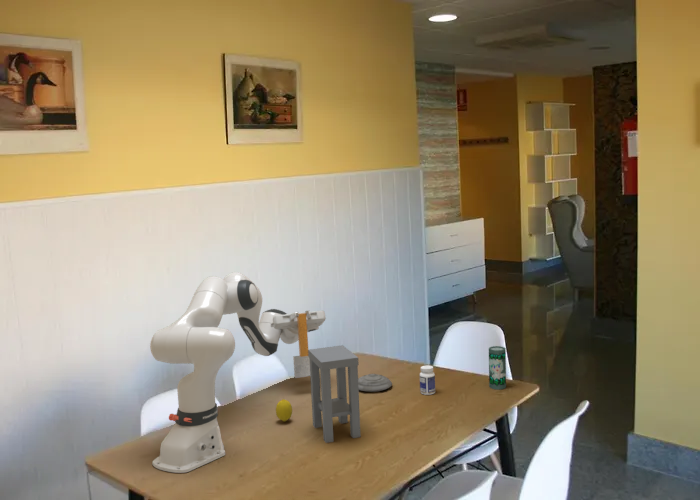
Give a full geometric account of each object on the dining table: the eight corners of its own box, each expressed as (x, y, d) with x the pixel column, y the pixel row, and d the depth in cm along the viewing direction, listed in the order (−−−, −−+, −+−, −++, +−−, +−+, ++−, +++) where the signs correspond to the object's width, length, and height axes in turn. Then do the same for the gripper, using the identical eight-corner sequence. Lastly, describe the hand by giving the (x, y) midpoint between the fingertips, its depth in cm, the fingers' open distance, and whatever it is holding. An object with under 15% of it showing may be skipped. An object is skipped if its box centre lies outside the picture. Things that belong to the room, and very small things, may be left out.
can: (488, 388, 251) (488, 350, 249) (490, 383, 257) (489, 345, 255) (505, 389, 249) (504, 350, 247) (506, 384, 255) (505, 346, 253)
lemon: (290, 425, 224) (288, 402, 223) (274, 424, 225) (273, 401, 224) (294, 418, 229) (293, 396, 228) (279, 418, 230) (278, 396, 229)
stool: (361, 437, 211) (358, 357, 208) (325, 443, 208) (321, 362, 204) (346, 419, 226) (342, 345, 223) (311, 425, 223) (308, 349, 220)
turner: (315, 374, 255) (316, 375, 252) (294, 377, 252) (296, 378, 250) (310, 312, 254) (312, 313, 251) (290, 314, 251) (291, 315, 249)
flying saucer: (347, 385, 262) (346, 372, 261) (381, 379, 268) (380, 366, 268) (364, 397, 249) (363, 382, 248) (399, 389, 255) (398, 376, 254)
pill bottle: (435, 390, 252) (434, 364, 251) (435, 395, 247) (434, 369, 245) (419, 390, 253) (419, 364, 252) (420, 395, 247) (419, 369, 246)
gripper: (268, 319, 259) (273, 308, 247) (319, 314, 266) (326, 302, 253) (270, 335, 257) (276, 324, 245) (321, 329, 263) (329, 318, 251)
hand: (302, 313), depth 249 cm, fingers closed on turner, 3 cm apart
